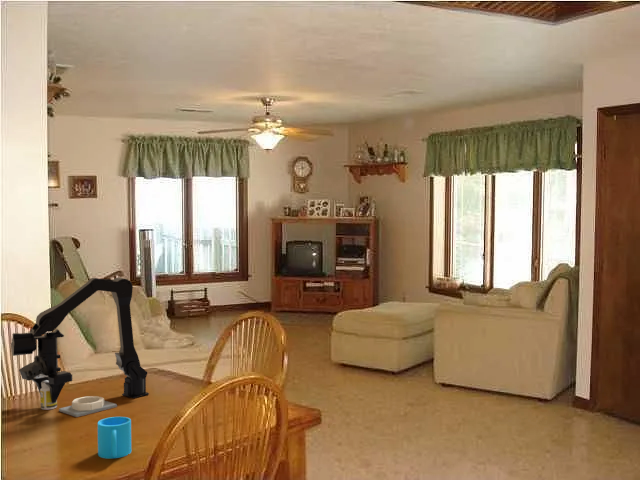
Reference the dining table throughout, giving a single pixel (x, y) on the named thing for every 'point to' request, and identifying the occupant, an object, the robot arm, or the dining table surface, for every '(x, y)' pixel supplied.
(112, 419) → the mug
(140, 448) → the dining table surface
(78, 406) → the holder board
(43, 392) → the supplement bottle
